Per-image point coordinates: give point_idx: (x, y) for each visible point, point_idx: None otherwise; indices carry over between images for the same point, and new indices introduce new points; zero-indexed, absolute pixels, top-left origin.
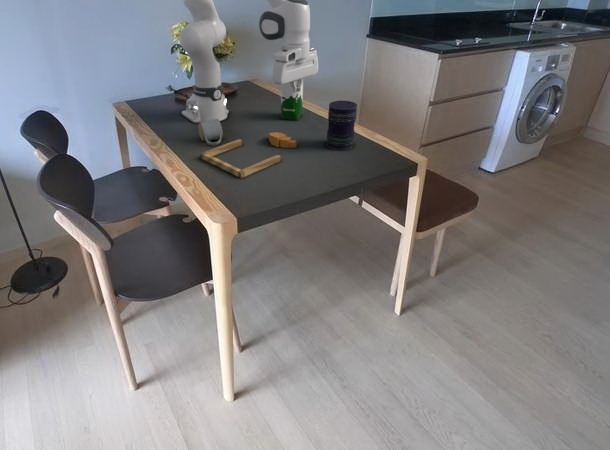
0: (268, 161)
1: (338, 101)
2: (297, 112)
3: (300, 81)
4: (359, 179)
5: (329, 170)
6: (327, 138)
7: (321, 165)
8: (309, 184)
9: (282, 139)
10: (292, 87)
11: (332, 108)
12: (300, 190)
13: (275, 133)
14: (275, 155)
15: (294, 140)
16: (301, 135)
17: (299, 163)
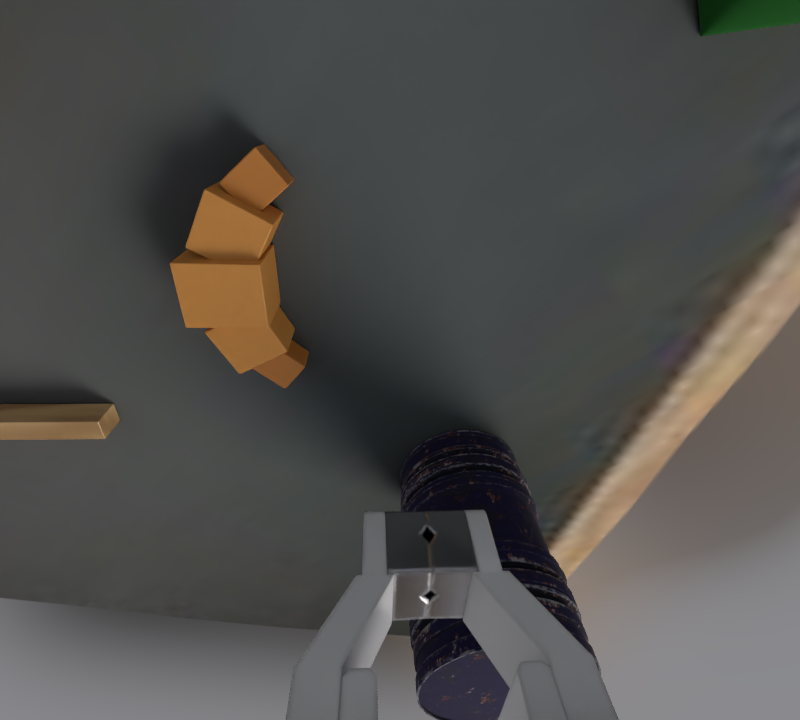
0: (16, 437)
1: None
2: (761, 20)
3: (505, 707)
4: (273, 621)
5: (243, 559)
6: (413, 480)
7: (248, 529)
8: (116, 575)
9: (216, 342)
10: (361, 581)
11: (418, 679)
12: (64, 580)
13: (243, 235)
14: (81, 422)
15: (296, 366)
16: (445, 282)
17: (185, 478)
